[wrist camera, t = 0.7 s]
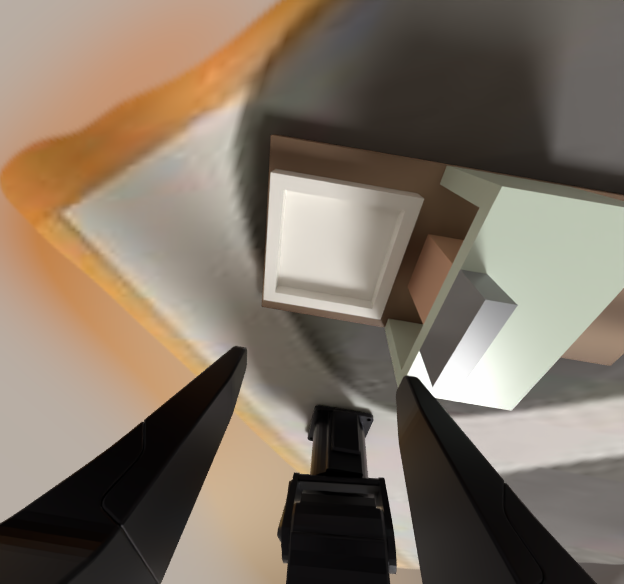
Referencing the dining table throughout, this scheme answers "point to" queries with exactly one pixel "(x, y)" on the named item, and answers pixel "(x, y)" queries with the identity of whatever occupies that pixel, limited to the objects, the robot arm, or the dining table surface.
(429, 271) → the block
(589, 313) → the cover
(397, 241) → the dish
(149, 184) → the dining table surface
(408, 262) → the board
